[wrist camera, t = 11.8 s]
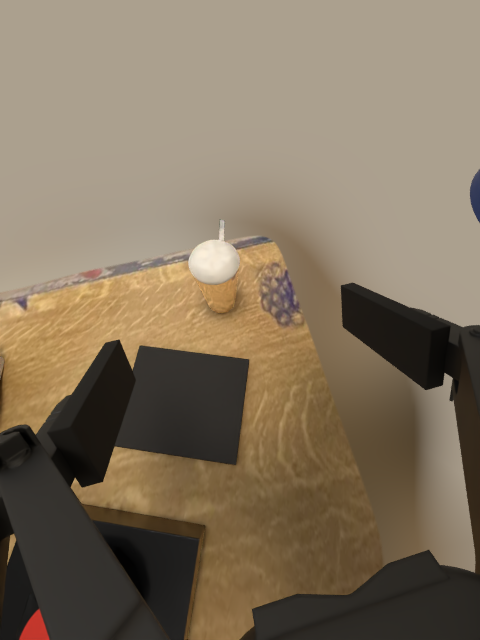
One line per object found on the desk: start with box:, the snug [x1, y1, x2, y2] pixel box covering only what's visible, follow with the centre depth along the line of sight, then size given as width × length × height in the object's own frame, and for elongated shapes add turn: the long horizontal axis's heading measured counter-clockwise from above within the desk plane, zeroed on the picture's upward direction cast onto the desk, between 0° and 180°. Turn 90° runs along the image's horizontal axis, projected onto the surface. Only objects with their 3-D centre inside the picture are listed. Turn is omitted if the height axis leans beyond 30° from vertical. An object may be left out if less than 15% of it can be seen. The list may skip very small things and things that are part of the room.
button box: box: [0, 504, 205, 640], centre depth 20 cm, size 14×10×5 cm
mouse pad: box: [115, 346, 249, 465], centre depth 27 cm, size 12×10×1 cm
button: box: [19, 609, 50, 640], centre depth 17 cm, size 4×4×3 cm
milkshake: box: [188, 219, 240, 313], centre depth 27 cm, size 4×5×10 cm
